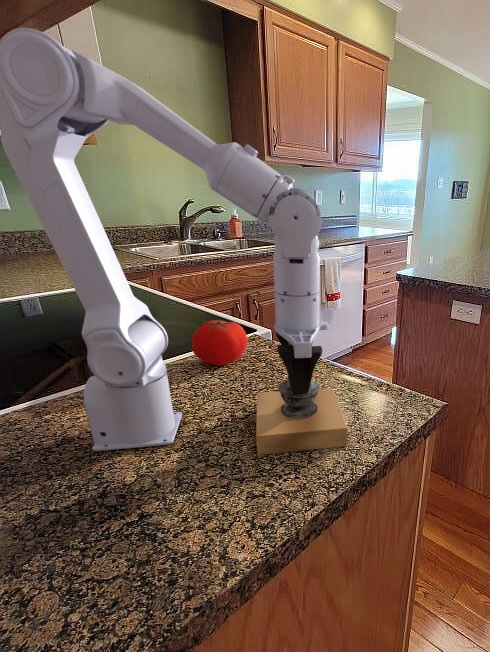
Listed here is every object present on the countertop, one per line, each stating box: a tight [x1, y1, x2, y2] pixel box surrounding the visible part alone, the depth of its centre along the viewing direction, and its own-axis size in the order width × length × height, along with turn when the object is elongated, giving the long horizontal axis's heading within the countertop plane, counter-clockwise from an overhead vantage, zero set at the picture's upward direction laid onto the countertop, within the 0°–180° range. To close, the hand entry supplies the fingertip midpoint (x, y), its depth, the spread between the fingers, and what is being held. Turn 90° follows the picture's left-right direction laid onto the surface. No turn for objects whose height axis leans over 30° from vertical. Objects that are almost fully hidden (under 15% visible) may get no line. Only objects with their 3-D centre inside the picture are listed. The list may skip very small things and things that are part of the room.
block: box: [255, 387, 348, 456], centre depth 58 cm, size 12×12×3 cm
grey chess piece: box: [277, 342, 321, 419], centre depth 55 cm, size 6×6×12 cm
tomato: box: [191, 319, 249, 367], centre depth 77 cm, size 9×10×8 cm
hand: (298, 385), depth 56 cm, fingers closed on grey chess piece, 4 cm apart
